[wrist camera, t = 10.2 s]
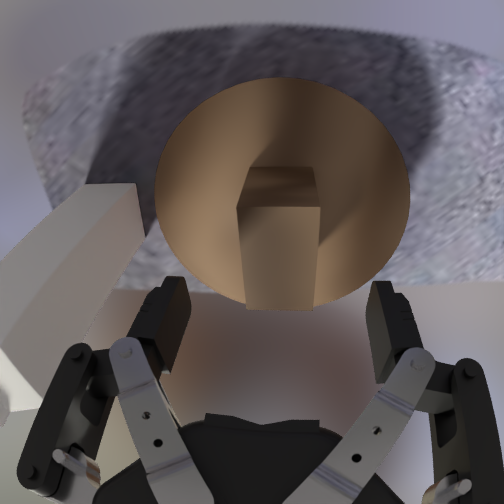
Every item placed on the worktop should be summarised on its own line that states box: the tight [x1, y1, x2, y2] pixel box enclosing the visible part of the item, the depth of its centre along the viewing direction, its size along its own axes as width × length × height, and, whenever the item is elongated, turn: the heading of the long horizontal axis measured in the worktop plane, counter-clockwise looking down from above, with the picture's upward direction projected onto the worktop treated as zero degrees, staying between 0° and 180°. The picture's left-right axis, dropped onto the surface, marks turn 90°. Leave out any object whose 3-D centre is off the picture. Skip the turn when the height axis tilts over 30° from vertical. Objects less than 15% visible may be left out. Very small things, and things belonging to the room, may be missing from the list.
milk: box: [0, 183, 145, 427], centre depth 19 cm, size 6×6×22 cm
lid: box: [154, 77, 410, 311], centre depth 17 cm, size 16×16×6 cm
